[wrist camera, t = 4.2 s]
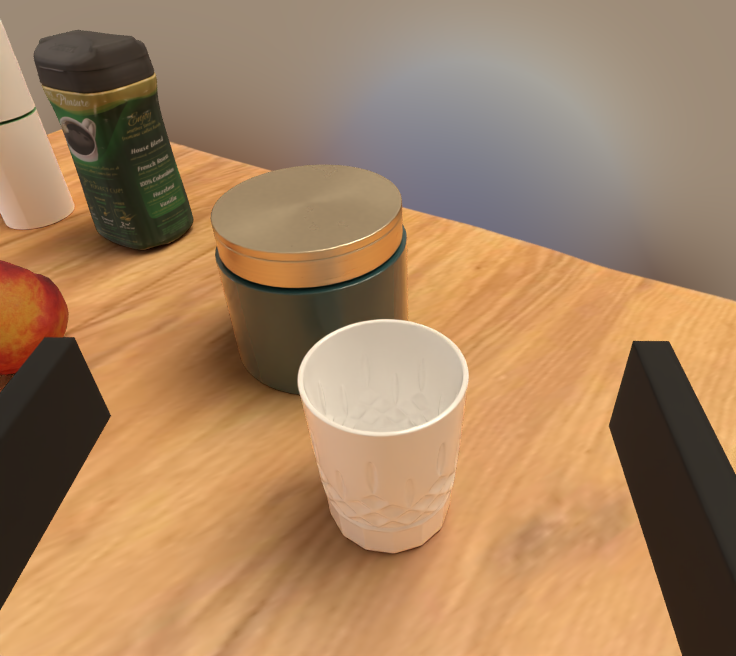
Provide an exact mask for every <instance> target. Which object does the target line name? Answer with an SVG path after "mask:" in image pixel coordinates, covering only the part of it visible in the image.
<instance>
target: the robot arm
mask: <svg viewBox="0 0 736 656" xmlns="http://www.w3.org/2000/svg"><path fill="white" fill-rule="evenodd" d="M110 417H111V415H110V413H109V411H108V408H107V406H106V404H105V402H104V400H103V398H102V396H101V393H100V391H99V389H98V387H97V385H96V383H95V381H94V379H93V376H92V374H91V372H90V370H89V368H88V366H87V364H86V361H85V359H84V357H83V355H82V353H81V351H80V349H79V347H78V344H77V342H76V340H75V338H74V337H44V339H43V340H42V341H41V342H40V344H39V345H38V346H37V347H36V349H35V350H34V351H33V352H32V354H31V355H30V356H29V357H28V359H27V360H26V361H25V362H24V364H23V365H22V366H21V367H20V369H19V370H18V371H17V372H16V374H15V375H14V376H13V377H12V379H11V380H10V381H9V382H8V384H7V385H6V386H5V387H4V389H3V390H2V391H1V392H0V610H1V608H2V606H3V605H4V603H5V601H6V599H7V598H8V596H9V594H10V592H11V591H12V589H13V587H14V585H15V583H16V582H17V580H18V578H19V576H20V575H21V573H22V571H23V569H24V568H25V566H26V564H27V562H28V561H29V559H30V557H31V555H32V554H33V552H34V550H35V548H36V547H37V545H38V543H39V541H40V540H41V538H42V536H43V534H44V533H45V531H46V529H47V527H48V525H49V524H50V522H51V520H52V518H53V517H54V515H55V513H56V511H57V510H58V508H59V506H60V504H61V503H62V501H63V499H64V497H65V496H66V494H67V492H68V490H69V489H70V487H71V485H72V483H73V482H74V480H75V478H76V476H77V475H78V473H79V471H80V469H81V467H82V466H83V464H84V462H85V460H86V459H87V457H88V455H89V453H90V452H91V450H92V448H93V446H94V445H95V443H96V441H97V439H98V438H99V436H100V434H101V432H102V431H103V429H104V427H105V425H106V424H107V422H108V420H109V418H110ZM609 428H610V431H611V434H612V437H613V440H614V443H615V446H616V450H617V453H618V456H619V459H620V462H621V465H622V468H623V471H624V475H625V478H626V481H627V484H628V487H629V490H630V493H631V497H632V500H633V503H634V506H635V509H636V512H637V515H638V518H639V522H640V525H641V528H642V531H643V534H644V537H645V540H646V544H647V547H648V550H649V553H650V556H651V559H652V562H653V565H654V569H655V572H656V575H657V578H658V581H659V584H660V587H661V591H662V594H663V597H664V600H665V603H666V606H667V609H668V612H669V616H670V619H671V622H672V625H673V628H674V631H675V634H676V638H677V641H678V644H679V647H680V650H681V653H682V656H736V474H735V472H734V470H733V468H732V466H731V464H730V462H729V460H728V458H727V456H726V454H725V452H724V450H723V448H722V446H721V444H720V442H719V440H718V438H717V436H716V434H715V432H714V430H713V428H712V426H711V424H710V422H709V420H708V418H707V416H706V414H705V412H704V410H703V408H702V406H701V404H700V402H699V400H698V398H697V396H696V394H695V392H694V390H693V388H692V386H691V384H690V382H689V380H688V378H687V376H686V374H685V372H684V370H683V368H682V366H681V364H680V362H679V360H678V358H677V356H676V354H675V352H674V350H673V348H672V346H671V344H670V342H669V341H633V343H632V347H631V350H630V354H629V357H628V361H627V364H626V368H625V371H624V375H623V378H622V382H621V385H620V389H619V392H618V396H617V399H616V403H615V406H614V410H613V413H612V417H611V420H610V424H609Z"/></svg>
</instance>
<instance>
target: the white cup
mask: <svg viewBox="0 0 736 656" xmlns="http://www.w3.org/2000/svg"><path fill="white" fill-rule="evenodd" d="M468 380H469V372H468V366H467V363H466V360H465V358H464V356H463V354H462V352H461V351H460V350H459V348H458V347H457V346H456V345H455V344H454V343H453V342H452V341H451V340H450V339H449V338H447V337H446V336H445V335H443V334H441V333H440V332H438V331H436V330H434V329H432V328H430V327H427V326H424V325H421V324H418V323H414V322H410V321H404V320H395V319H378V320H369V321H363V322H358V323H354V324H351V325H348V326H345V327H342V328H340V329H338V330H335V331H333V332H332V333H330V334H328V335H326V336H325V337H323V338H322V339H321V340H319V341H318V342H317V343H316V344H315V345H314V346H313V347H312V348H311V349H310V350H309V351H308V353H307V354H306V355H305V357H304V359H303V361H302V363H301V365H300V368H299V372H298V389H299V393H300V397H301V401H302V405H303V409H304V413H305V417H306V422H307V426H308V430H309V434H310V439H311V443H312V447H313V451H314V456H315V459H316V462H317V465H318V469H319V474H320V478H321V481H322V484H323V487H324V490H325V492H326V495H327V499H328V504H329V508H330V512H331V515H332V517H333V518H334V520H335V522H336V524H337V525H338V527H339V529H340V531H341V532H342V534H343V535H344V536H345V537H347V538H348V539H350V540H351V541H353V542H355V543H356V544H358V545H359V546H361V547H363V548H364V549H366V550H372V551H379V552H387V553H398V552H401V551H405V550H408V549H411V548H415V547H418V546H421V545H423V544H424V543H425V542H426V541H427V540H428V539H429V538H431V537H432V536H433V535H434V534H435V533H436V532H437V531H439V530H440V529H441V527H442V525H443V522H444V519H445V517H446V514H447V511H448V508H449V506H450V499H451V490H452V487H453V483H454V478H455V473H456V466H457V461H458V455H459V449H460V441H461V433H462V426H463V418H464V410H465V402H466V395H467V387H468Z"/></svg>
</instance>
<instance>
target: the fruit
mask: <svg viewBox="0 0 736 656" xmlns="http://www.w3.org/2000/svg"><path fill="white" fill-rule="evenodd" d="M67 323H68V308H67V305H66V302H65V300H64V298H63V296H62V294H61V292H60V291H59V289H58V287H57V286H56V285H55V284H54V283H53V282H52V281H51V280H50V279H49V278H47V277H45V276H43V275H41V274H34V273H33V272H31V271H30V270H28V269H25V268H22V267H19V266H16V265H13V264H11V263H8V262H5V261H1V260H0V374H1V375H4V374H16V372H17V371H18V370H19V369H20V367H21V366H22V365H23V364H24V362H25V361H26V360H27V359H28V357H29V356H30V355H31V354H32V352H33V351H34V350H35V349H36V347H37V346H38V345H39V344H40V342H41V341H42V340H43V339H44V337H64V334H65V331H66V328H67Z"/></svg>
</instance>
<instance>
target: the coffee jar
mask: <svg viewBox="0 0 736 656" xmlns="http://www.w3.org/2000/svg"><path fill="white" fill-rule="evenodd" d="M34 61H35V65H36V68H37V72H38V76H39V79H40V82H41V83H42V87H43V90H44V92H45V94H46V96H47V98H48V100H49V101H50V103H51V105H52V107H53V109H54V111H55V113H56V116H57V118H58V120H59V122H60V125H61V127H62V130H63V133H64V135H65V138H66V141H67V144H68V147H69V150H70V153H71V155H72V158H73V161H74V164H75V167H76V170H77V173H78V176H79V179H80V182H81V185H82V188H83V191H84V194H85V198H86V201H87V204H88V207H89V210H90V213H91V216H92V219H93V222H94V224H95V227H96V230H97V232H98V233H99V234H100V235H101V236H103V237H104V238H106V239H108V240H110V241H112V242H114V243H117V244H119V245H122V246H125V247H129V248H133V249H138V250H145V249H149V248H151V247H155V246H159V245H162V244H168V243H170V242H172V241H174V240H176V239H178V238H179V237H180V236H182V235H183V234H184V233H185V232H186V231H187V230H188V229H189V228H190V227H191V225H192V223H193V215H192V212H191V208H190V205H189V201H188V198H187V195H186V192H185V189H184V186H183V183H182V180H181V177H180V174H179V171H178V168H177V165H176V162H175V159H174V155H173V152H172V149H171V145H170V142H169V139H168V136H167V132H166V129H165V126H164V122H163V119H162V115H161V111H160V106H159V101H158V95H157V79H156V74H155V72H154V68H153V66H152V63H151V60H150V58H149V55H148V52H147V49H146V47H145V45H144V43H143V42H141V41H139V40H136V39H135V38H134V37H132V36H124V35H113V34H105V33H98V32H91V31H81V30H75V31H70V32H66V33H62V34H58V35H53V36H49V37H45V38H42V39H40V41H39V44H38V46H37V47H36V49H35V51H34Z"/></svg>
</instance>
